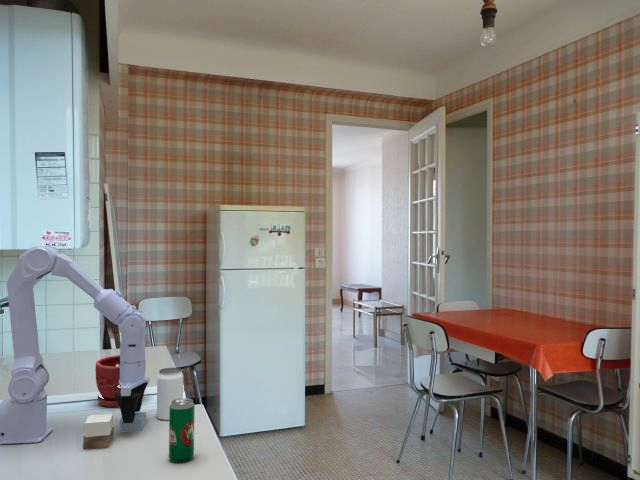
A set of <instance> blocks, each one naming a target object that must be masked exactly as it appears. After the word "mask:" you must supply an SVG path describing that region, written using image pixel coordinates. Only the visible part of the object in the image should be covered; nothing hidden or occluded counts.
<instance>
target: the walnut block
mask: <svg viewBox="0 0 640 480" xmlns="http://www.w3.org/2000/svg"><path fill="white" fill-rule="evenodd" d="M114 438H115V437H114V426H113V427H112V430H111V432H110V435H104V436H93V437H85V434H83V442H82V443H83V444H82V445H83V446H82V449H83V450H96V449H97V450H99V449H108V448H109V446H110V445H111V443H112V442H113V440H114Z"/></svg>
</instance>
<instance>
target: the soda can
mask: <svg viewBox="0 0 640 480" xmlns="http://www.w3.org/2000/svg"><path fill="white" fill-rule="evenodd" d="M171 403H172V404H171V405H170V411H169V420H168V421H169V422H168V423H169V426H168V427H169V429H168V458H169V459H170V461H171V462H174V463H181V464H182V463H185V462H188V461H190V460H191V459H193V457H194V455H195V409H196V408H195V403H194V400H193V399H192V398H190V397H183V398H178V399H175V400H173V401H172V402H171Z"/></svg>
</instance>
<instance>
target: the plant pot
mask: <svg viewBox="0 0 640 480" xmlns="http://www.w3.org/2000/svg"><path fill="white" fill-rule="evenodd" d="M117 365H118V366H117ZM145 367H146V362H145ZM119 380H120V354H118V355H111V356H105V357H103V358H100V359H98V360H97V361H96V362H95V383H96V387H97V390H98V392H99V395H100V394H101V395H102V397H103V398H104V399H102V398H100V397H99V395H98V396H97V401H98V403H100V404H101V405H103V406H106V407H119V405H118V403H117V401H116V400H115V394H116V393H120V392H121V388H118V387H117V386H118V385H119Z"/></svg>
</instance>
